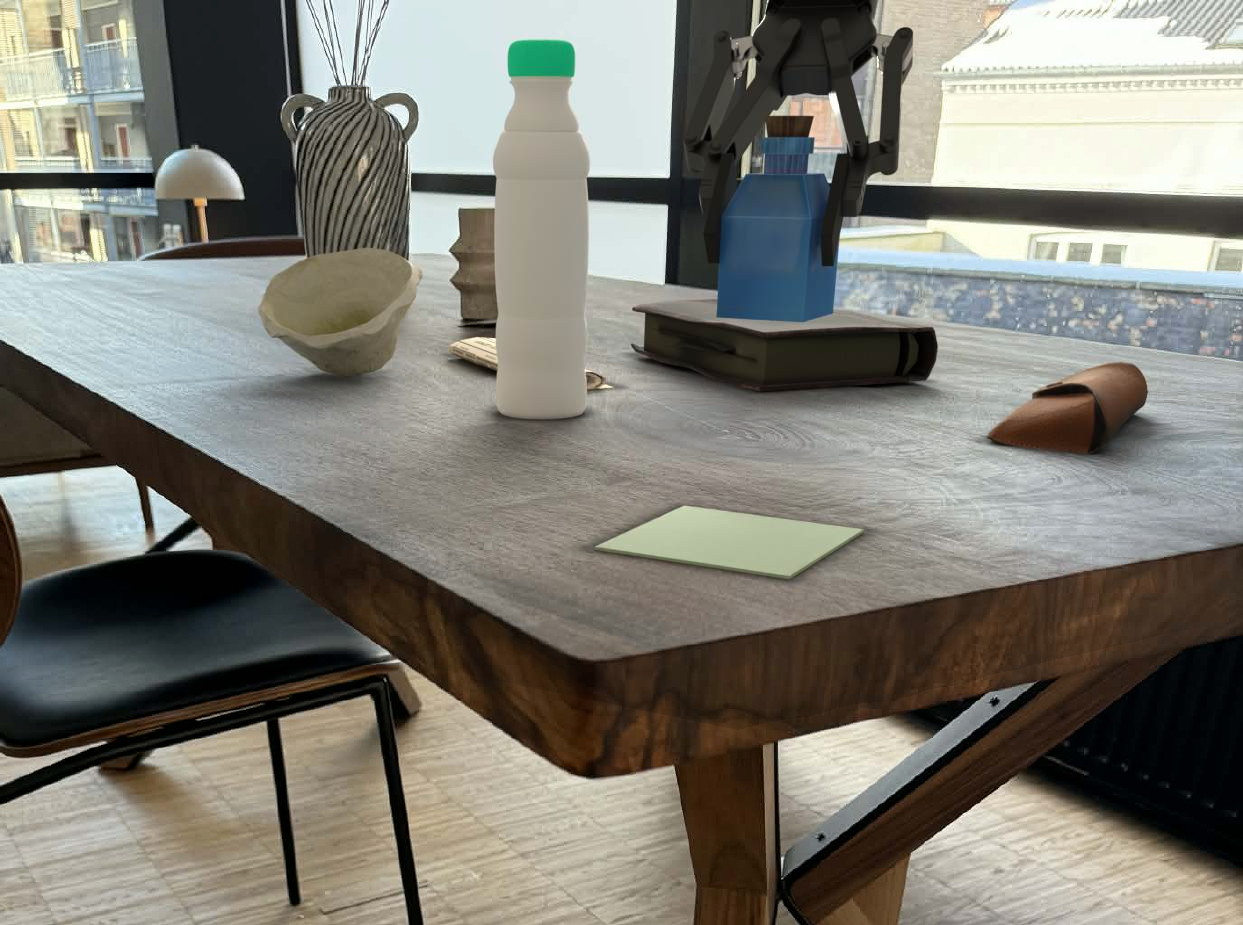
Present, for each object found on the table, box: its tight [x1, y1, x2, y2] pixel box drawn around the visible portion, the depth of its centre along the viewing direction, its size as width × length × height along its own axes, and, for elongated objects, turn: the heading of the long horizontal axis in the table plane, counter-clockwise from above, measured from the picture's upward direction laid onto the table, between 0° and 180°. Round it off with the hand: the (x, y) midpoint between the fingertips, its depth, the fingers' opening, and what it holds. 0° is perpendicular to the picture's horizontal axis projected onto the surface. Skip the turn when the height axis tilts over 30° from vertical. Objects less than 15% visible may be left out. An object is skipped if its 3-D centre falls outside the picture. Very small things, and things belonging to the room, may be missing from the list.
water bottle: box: [492, 38, 591, 420], centre depth 106 cm, size 7×7×25 cm
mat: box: [594, 505, 865, 580], centre depth 77 cm, size 11×11×1 cm
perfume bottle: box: [716, 115, 841, 322], centre depth 96 cm, size 6×6×12 cm
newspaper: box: [448, 336, 615, 390], centre depth 130 cm, size 24×7×2 cm, turn 23°
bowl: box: [257, 247, 424, 377], centre depth 128 cm, size 15×14×10 cm
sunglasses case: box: [986, 361, 1149, 455], centre depth 106 cm, size 18×7×7 cm, turn 152°
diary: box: [630, 298, 939, 393], centre depth 132 cm, size 19×25×5 cm
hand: (768, 249), depth 94 cm, fingers closed on perfume bottle, 7 cm apart
